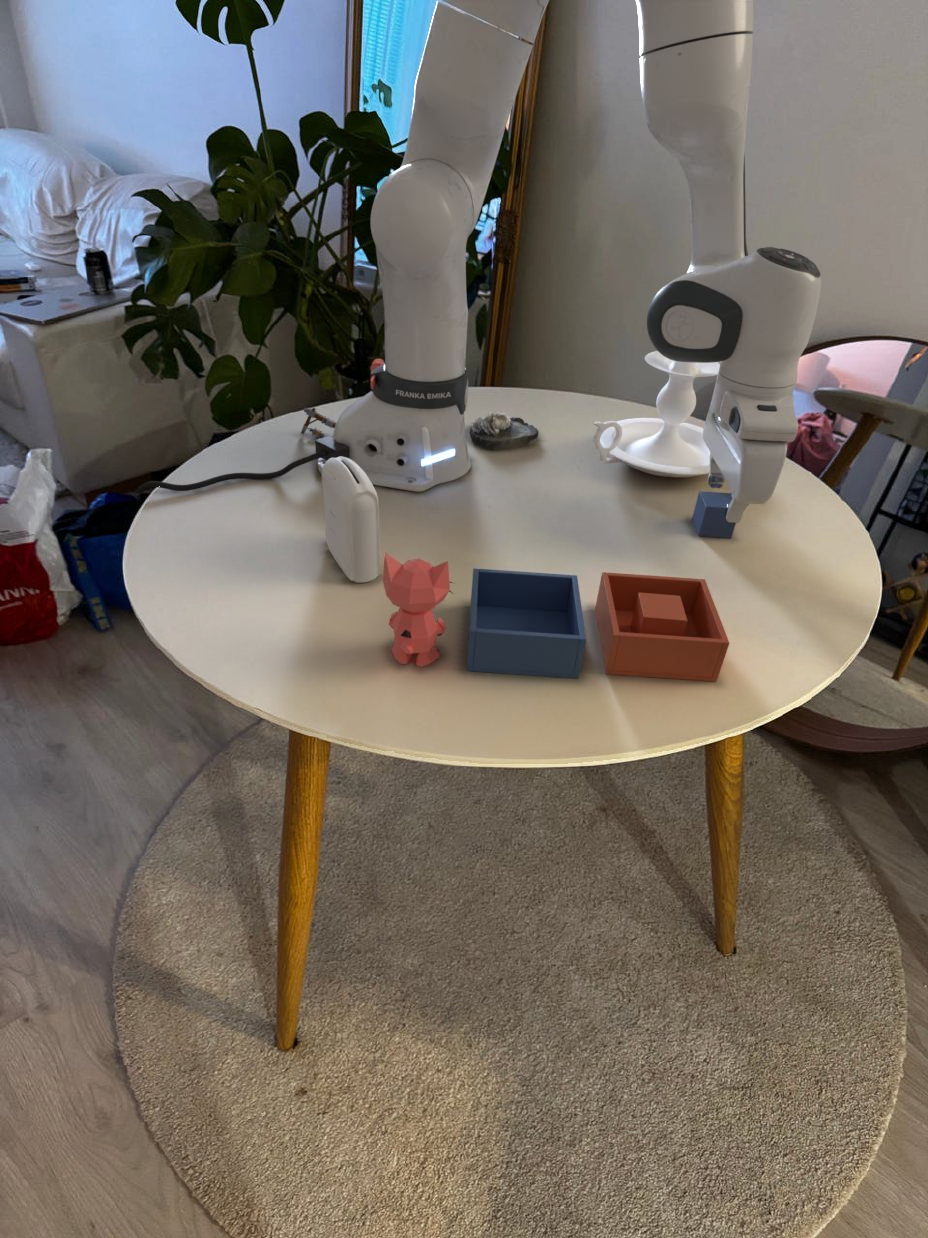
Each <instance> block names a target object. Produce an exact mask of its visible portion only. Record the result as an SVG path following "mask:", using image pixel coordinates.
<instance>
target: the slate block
mask: <svg viewBox="0 0 928 1238" xmlns="http://www.w3.org/2000/svg"><path fill="white" fill-rule="evenodd" d="M731 495H732V492H719V491H718V492H717V491H703V490H699V491H698V493H697V498H696V502H695V505H694V509H693V513H692V516H691V522H692V524H693V527H694V530H695V532H696V534H697V536H698V537H704V538H705V537H706V538H719V539H732V538H733V534H734V531H735V527H736V524H737V523H734V522H728V521H727V520H726V518H725V515H724V512H725V509H726V505H727V504H730V502H731V500H732V496H731Z"/></svg>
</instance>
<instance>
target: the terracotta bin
mask: <svg viewBox="0 0 928 1238" xmlns="http://www.w3.org/2000/svg"><path fill="white" fill-rule="evenodd" d="M638 593H652V594H664V595H676V596H680V597H681V600H682V604H683V607H684V611H685V614H686V618H687V624H686V627H685V631H684V634H683V636H668V635H654V634H640V633H632V629H631V622H632V618H633V614H634V610H635V605H636V601H637V597H638ZM594 607H595V608H594V611H595V617H596V623H597V629H598V635H599V642H600V648H601V654H602V659H603V660H602V661H603V665H604V671H605V674H606V675H615V676H629V677H630V676H631V677H641V678H642V677H643V678H644V677H645V678H656V679H657V678H658V679H671V680H686V681H687V680H688V681H701V682H702V681H703V682H716V683H717V681H718V678H719V675H720V672H721V669H722V667H723V664H724V662H725V658H726V655H727V653H728V649H729V647H730V641H729V638H728V635H727V632H726V630H725V628H724V625H723V622H722V620H721V617H720V615H719V612H718V609H717V606H716V605H715V602H714V599H713V597H712V594H711V591H710V589H709V587H708V583H707V581H706V579H705V578H695V577H694V578H693V577H679V576H678V577H677V576H663V575H651V574H634V573H619V572H608V571H607V572H606V571H605V572H604V571H602V572H601V576H600V581H599V587H598V592H597V597H596V602H595V606H594Z"/></svg>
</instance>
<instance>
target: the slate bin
mask: <svg viewBox="0 0 928 1238" xmlns="http://www.w3.org/2000/svg"><path fill="white" fill-rule="evenodd" d="M580 594H581V593H580V585H579V580H578V575H576V574H572V575H571V574H562V573H547V572H546V573H545V572H534V571H533V572H532V571H520V570H519V571H518V570H504V569H501V570H500V569H491V568H489V569H488V568H476V567H474V568H473V569H472V580H471V595H470V607H469V608H470V609H469V625H468V639H467V640H468V643H467V658H466V671H467V672H479V673H492V674H506V675H507V674H508V675H520V676H535V677H551V678H567V679H579V678H580V674H581V670H582V669H581V668H582V662H583V658H584V652H585V647H586V642H587V637H586V636H587V635H586V629H585V622H584V615H583V608H582V600H581V595H580Z"/></svg>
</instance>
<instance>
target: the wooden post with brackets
mask: <svg viewBox="0 0 928 1238" xmlns="http://www.w3.org/2000/svg"><path fill="white" fill-rule="evenodd" d="M303 412H304V413H305V415H307V419H306V421H305V423H304V424H303V426H302V428H301V431H300V434H302V435H305V433H306V432H307V430H308V432H309V433H311V434H312V436H316V437H317V438H320V437H321V438H323V437H325V433H323V430H320V429H317V427H315V428H313V427H309V426H310V424H313V423H315V422H317V421H318V422H321V424H324V426H327V427H329V428H330V429H334V428H335V425H336V422H337V421H336V422H335V420H333V419H331V418H330V417H327V416H326V415H322V414H320V413H318V411H317V408H316V407H312V408H311V407H304V408H303ZM311 419H313V420H311Z"/></svg>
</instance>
